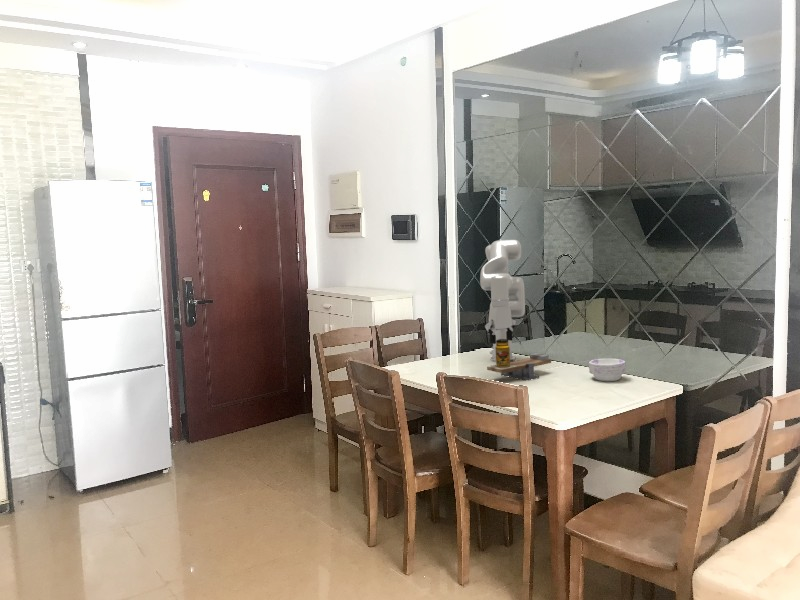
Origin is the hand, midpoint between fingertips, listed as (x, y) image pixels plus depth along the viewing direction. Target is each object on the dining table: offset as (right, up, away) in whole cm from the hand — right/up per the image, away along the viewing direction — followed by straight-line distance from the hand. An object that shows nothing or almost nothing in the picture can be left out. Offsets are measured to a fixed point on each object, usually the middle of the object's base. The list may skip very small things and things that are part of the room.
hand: (501, 341), depth 288 cm
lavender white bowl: (+45, -16, -5) cm, 48 cm away
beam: (+9, -11, +6) cm, 16 cm away
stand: (+10, -16, +7) cm, 20 cm away
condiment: (+1, -11, +1) cm, 11 cm away
